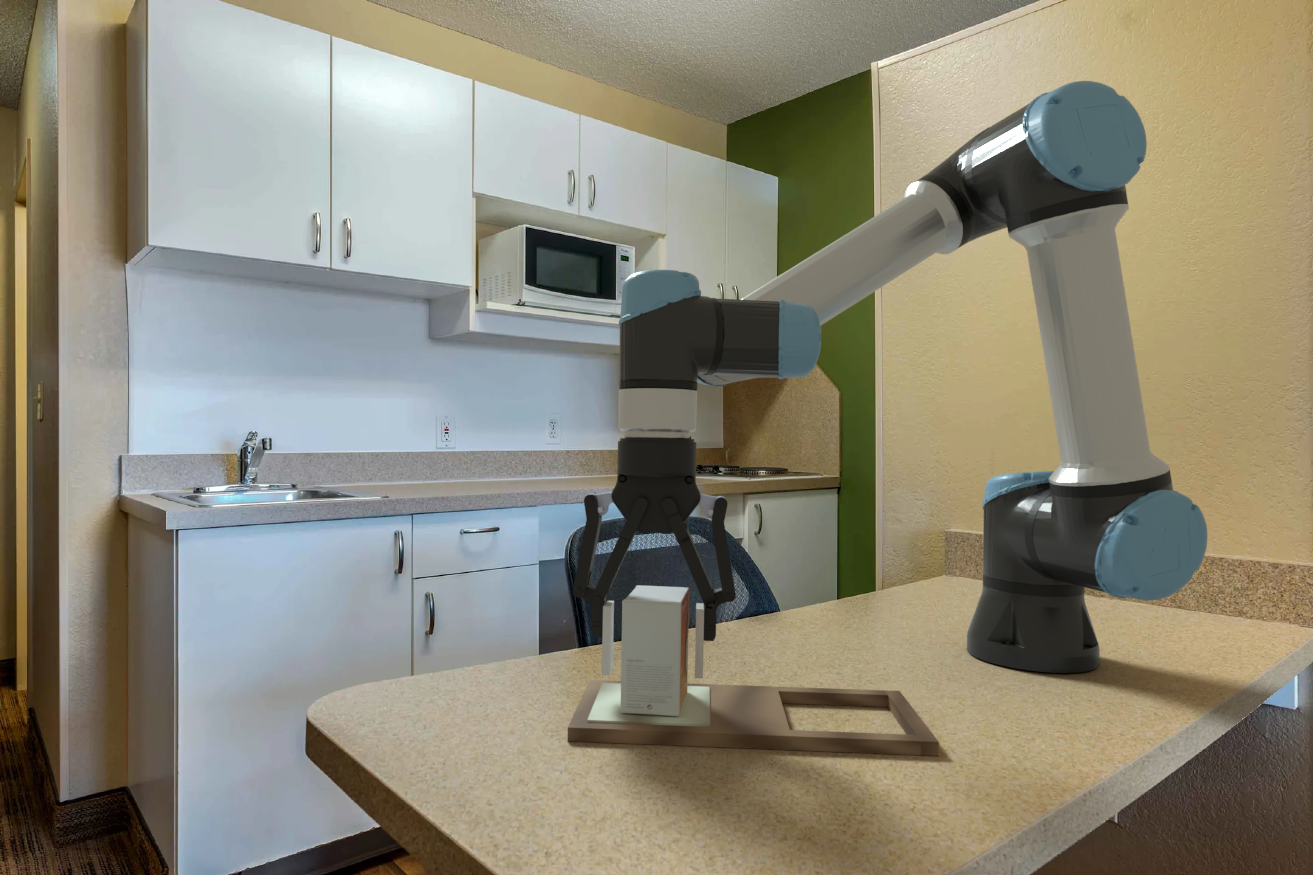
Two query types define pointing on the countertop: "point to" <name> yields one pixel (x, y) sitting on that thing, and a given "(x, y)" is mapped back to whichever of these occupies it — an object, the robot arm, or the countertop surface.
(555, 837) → the countertop surface
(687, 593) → the small box
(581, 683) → the countertop surface
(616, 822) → the countertop surface
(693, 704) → the board
